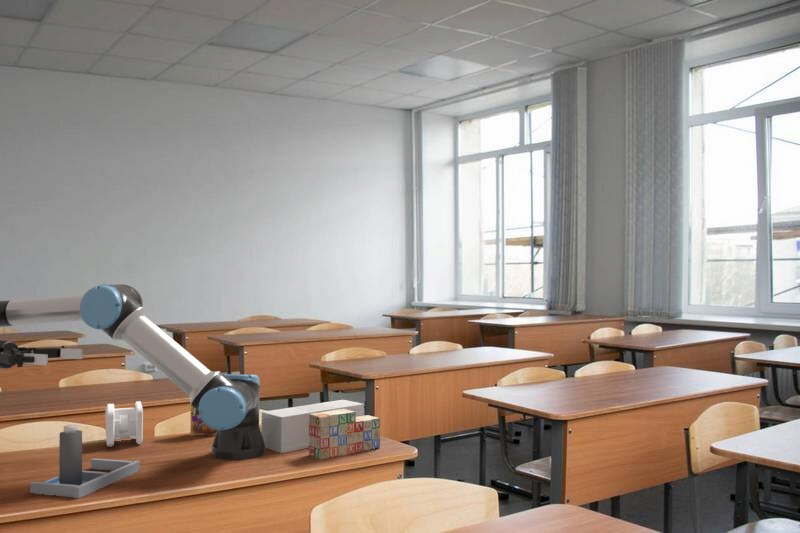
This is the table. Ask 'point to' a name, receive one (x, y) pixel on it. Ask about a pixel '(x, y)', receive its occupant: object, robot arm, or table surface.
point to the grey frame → (88, 479)
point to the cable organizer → (124, 423)
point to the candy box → (199, 425)
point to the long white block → (297, 424)
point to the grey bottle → (70, 456)
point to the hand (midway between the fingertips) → (65, 356)
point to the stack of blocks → (342, 433)
